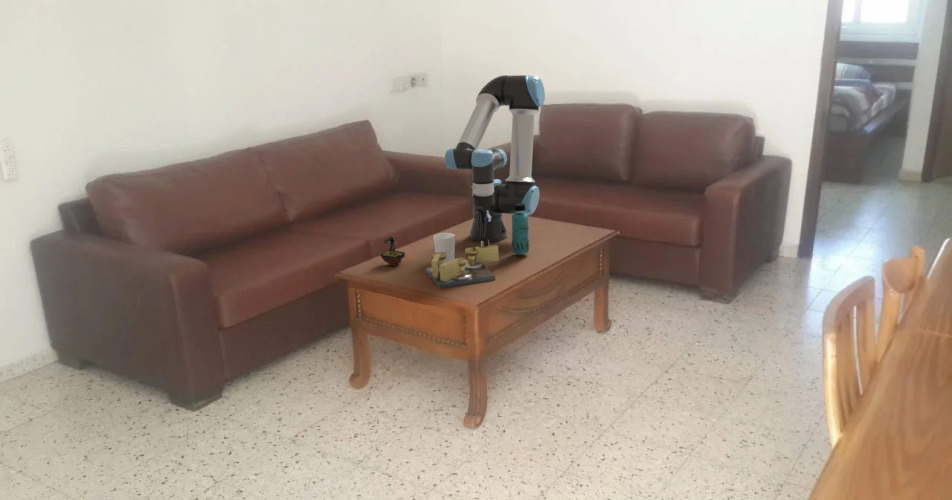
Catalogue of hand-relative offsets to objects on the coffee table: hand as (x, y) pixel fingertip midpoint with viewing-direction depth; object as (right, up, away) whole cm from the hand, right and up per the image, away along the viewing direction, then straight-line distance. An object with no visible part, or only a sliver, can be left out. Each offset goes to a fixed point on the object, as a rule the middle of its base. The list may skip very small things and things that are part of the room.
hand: (485, 256), depth 287 cm
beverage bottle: (+14, 0, +11) cm, 17 cm away
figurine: (-34, -3, +6) cm, 35 cm away
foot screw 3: (-1, -2, -3) cm, 4 cm away
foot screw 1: (-17, -5, -10) cm, 20 cm away
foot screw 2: (-11, -7, -16) cm, 21 cm away
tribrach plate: (-9, -7, -8) cm, 14 cm away
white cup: (-15, -2, +8) cm, 17 cm away
